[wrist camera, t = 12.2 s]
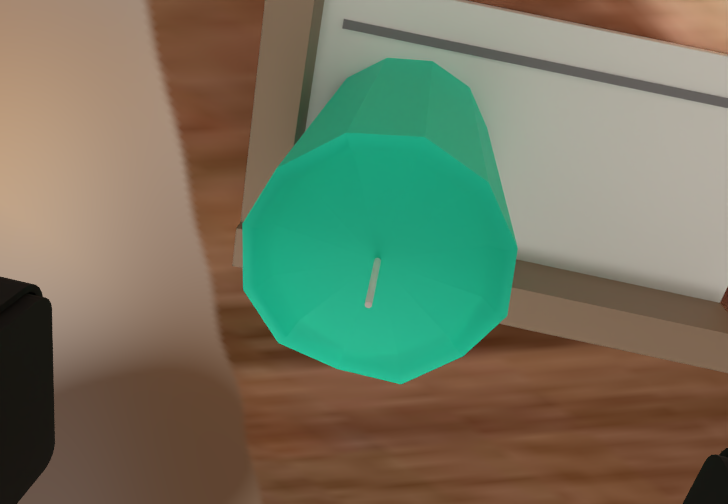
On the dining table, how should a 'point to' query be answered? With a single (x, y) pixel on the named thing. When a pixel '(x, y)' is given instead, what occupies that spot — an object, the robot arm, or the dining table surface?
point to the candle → (384, 228)
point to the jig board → (548, 156)
